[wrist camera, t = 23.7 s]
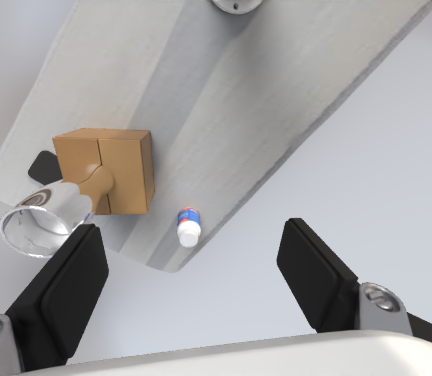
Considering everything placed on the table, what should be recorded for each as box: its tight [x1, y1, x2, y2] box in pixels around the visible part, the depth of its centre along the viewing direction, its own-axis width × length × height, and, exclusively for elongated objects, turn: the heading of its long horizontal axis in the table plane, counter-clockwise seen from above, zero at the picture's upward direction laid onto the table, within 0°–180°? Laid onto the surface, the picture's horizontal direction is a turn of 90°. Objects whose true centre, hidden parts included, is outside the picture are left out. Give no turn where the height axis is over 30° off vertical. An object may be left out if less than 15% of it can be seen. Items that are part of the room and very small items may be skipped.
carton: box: [52, 128, 155, 215], centre depth 39 cm, size 13×14×10 cm
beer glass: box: [0, 163, 114, 258], centre depth 27 cm, size 7×7×15 cm
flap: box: [98, 139, 147, 214], centre depth 35 cm, size 6×14×1 cm, turn 177°
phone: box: [28, 151, 63, 185], centre depth 44 cm, size 7×1×15 cm
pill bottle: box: [177, 207, 201, 247], centre depth 47 cm, size 6×5×10 cm
